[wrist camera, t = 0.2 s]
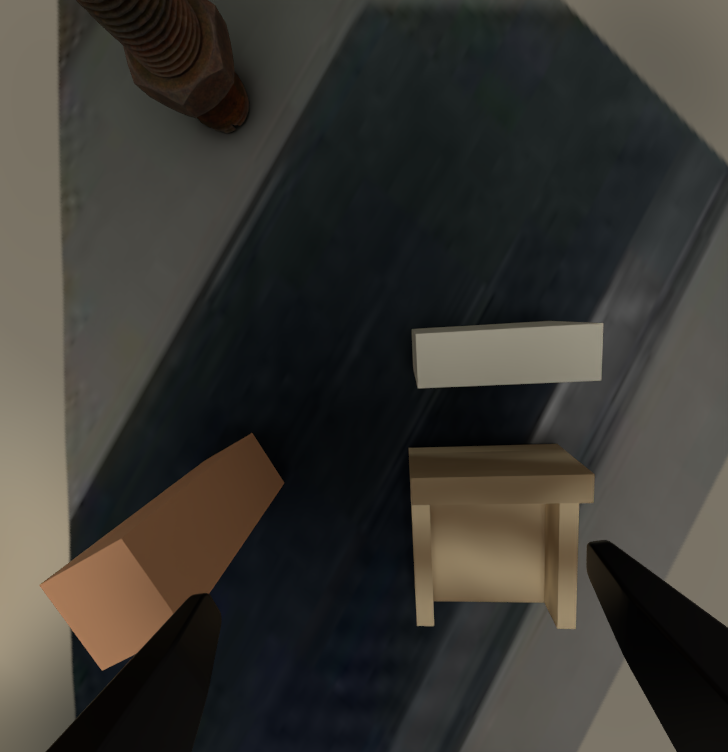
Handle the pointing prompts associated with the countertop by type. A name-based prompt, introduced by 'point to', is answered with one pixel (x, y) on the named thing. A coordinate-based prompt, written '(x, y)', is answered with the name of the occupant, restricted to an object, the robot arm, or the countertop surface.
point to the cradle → (497, 526)
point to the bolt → (178, 56)
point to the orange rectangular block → (164, 553)
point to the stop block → (507, 354)
